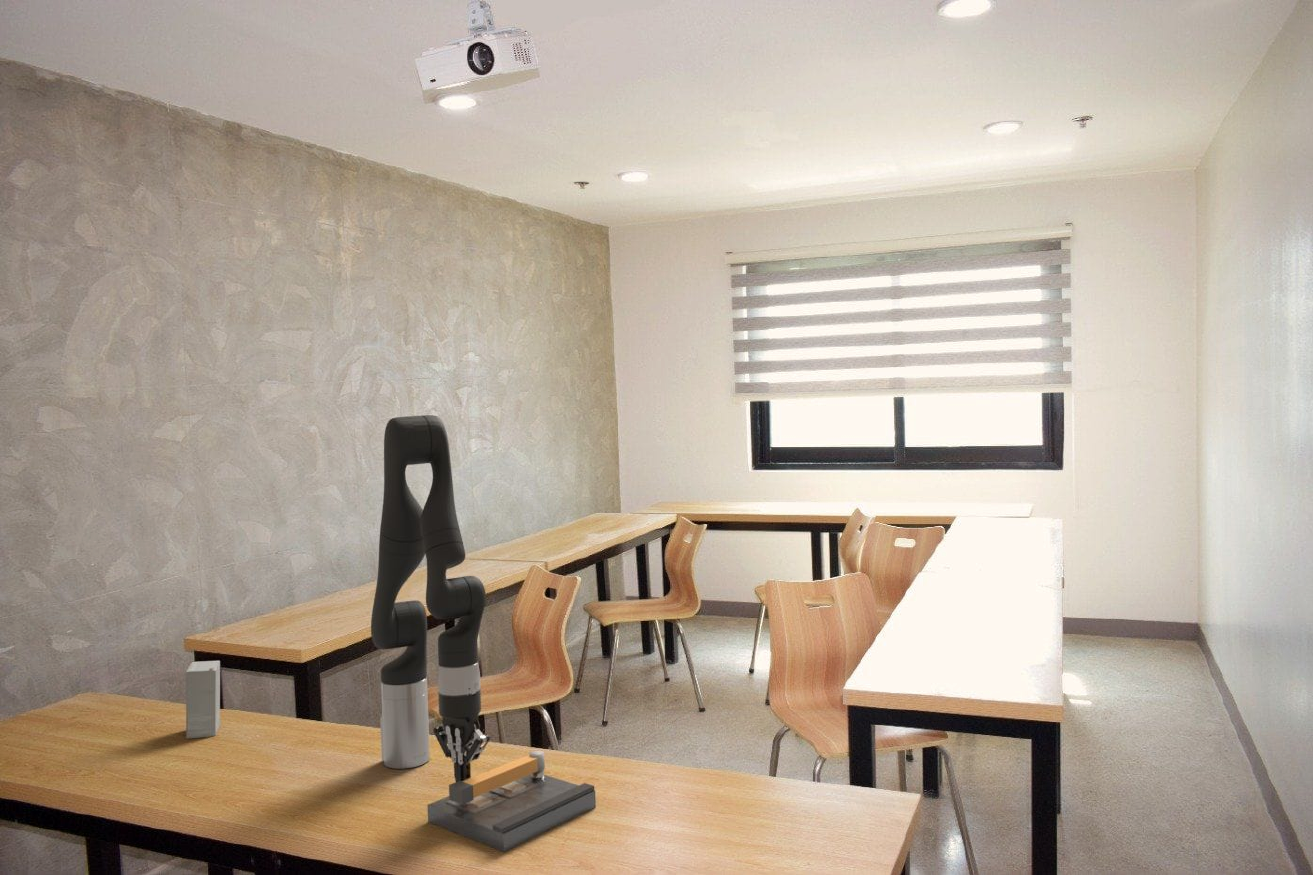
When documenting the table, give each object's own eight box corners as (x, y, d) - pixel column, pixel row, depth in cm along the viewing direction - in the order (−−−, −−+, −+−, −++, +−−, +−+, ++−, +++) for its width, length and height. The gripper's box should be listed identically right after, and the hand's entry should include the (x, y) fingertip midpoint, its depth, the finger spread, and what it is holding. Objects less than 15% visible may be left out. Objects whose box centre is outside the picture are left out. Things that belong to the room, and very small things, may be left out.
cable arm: (449, 800, 170) (448, 783, 170) (536, 764, 186) (535, 749, 186) (462, 805, 167) (462, 788, 167) (549, 768, 183) (548, 753, 183)
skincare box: (190, 728, 227) (187, 661, 226) (224, 724, 229) (221, 658, 229) (184, 740, 219) (181, 670, 218) (219, 736, 221) (216, 667, 221)
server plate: (427, 821, 171) (427, 799, 171) (521, 781, 188) (520, 762, 188) (503, 852, 159) (503, 828, 158) (596, 806, 176) (595, 785, 176)
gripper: (418, 687, 176) (422, 781, 177) (468, 698, 168) (472, 797, 169) (450, 677, 182) (453, 768, 183) (500, 687, 174) (503, 783, 175)
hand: (462, 782), depth 176 cm, fingers closed
